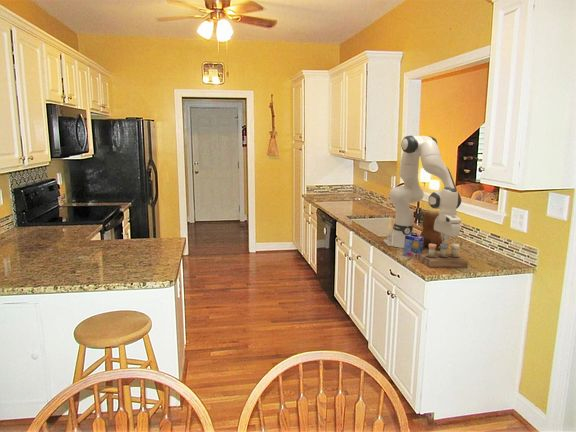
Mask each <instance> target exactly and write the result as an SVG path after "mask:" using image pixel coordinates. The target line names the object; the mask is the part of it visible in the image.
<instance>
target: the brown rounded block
mask: <svg viewBox="0 0 576 432" xmlns="http://www.w3.org/2000/svg"><path fill="white" fill-rule="evenodd" d="M439 211H440V210H434V209H427V210H425V212H424V215H423V222H422V230H421V233H420V235H419V236H421V237H424V244H423V247H424V248H428V249H429V244H430V243H432V244H436V249H437V248H438V249H439V248H440V244H443V241H442V236H441V233H440V232H438V231H435V230H434V223H435V219H436V217H437V216H438V215H439Z"/></svg>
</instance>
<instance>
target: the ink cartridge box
mask: <svg viewBox="0 0 576 432" xmlns="http://www.w3.org/2000/svg"><path fill="white" fill-rule="evenodd" d="M423 244H424V237H421V236H420V235H418V232H413V231H412V232H411V235H410V234H408V235H405V244H404V248H403V256H406V257H411V258H415V259H418V254H424V246H423Z"/></svg>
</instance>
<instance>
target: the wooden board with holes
mask: <svg viewBox="0 0 576 432" xmlns="http://www.w3.org/2000/svg"><path fill="white" fill-rule="evenodd" d="M428 254H429V253H423V254H418V258H417V262H420V263H422V264H423V265H424V266H427V267H428V268H430V269H438V268H439V269H441V268H442V269H446V268H448V269H449V268H451V269H453V268H455V267H467V268H468V263H469V260H468V259H465V258H463V257H461V256H459V255H457V257H451V253H446V257H440V253H435V256H434V257H428Z"/></svg>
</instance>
